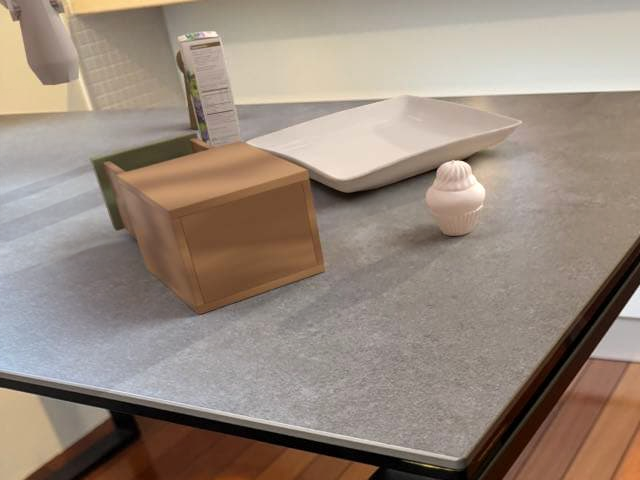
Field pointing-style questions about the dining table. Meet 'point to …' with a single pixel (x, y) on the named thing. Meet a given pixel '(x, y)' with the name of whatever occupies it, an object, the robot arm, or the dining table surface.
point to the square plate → (386, 141)
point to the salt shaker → (47, 43)
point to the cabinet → (224, 223)
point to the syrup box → (210, 88)
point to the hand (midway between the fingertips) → (37, 13)
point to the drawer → (135, 159)
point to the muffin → (455, 198)
